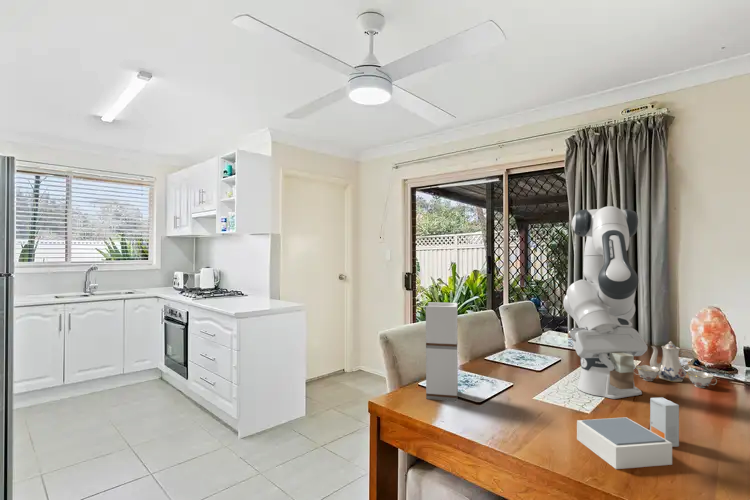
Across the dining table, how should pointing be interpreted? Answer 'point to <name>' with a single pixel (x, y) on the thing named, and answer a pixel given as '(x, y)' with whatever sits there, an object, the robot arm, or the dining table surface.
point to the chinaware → (672, 368)
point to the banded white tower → (441, 351)
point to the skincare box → (665, 419)
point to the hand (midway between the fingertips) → (623, 369)
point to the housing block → (622, 370)
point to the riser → (624, 443)
